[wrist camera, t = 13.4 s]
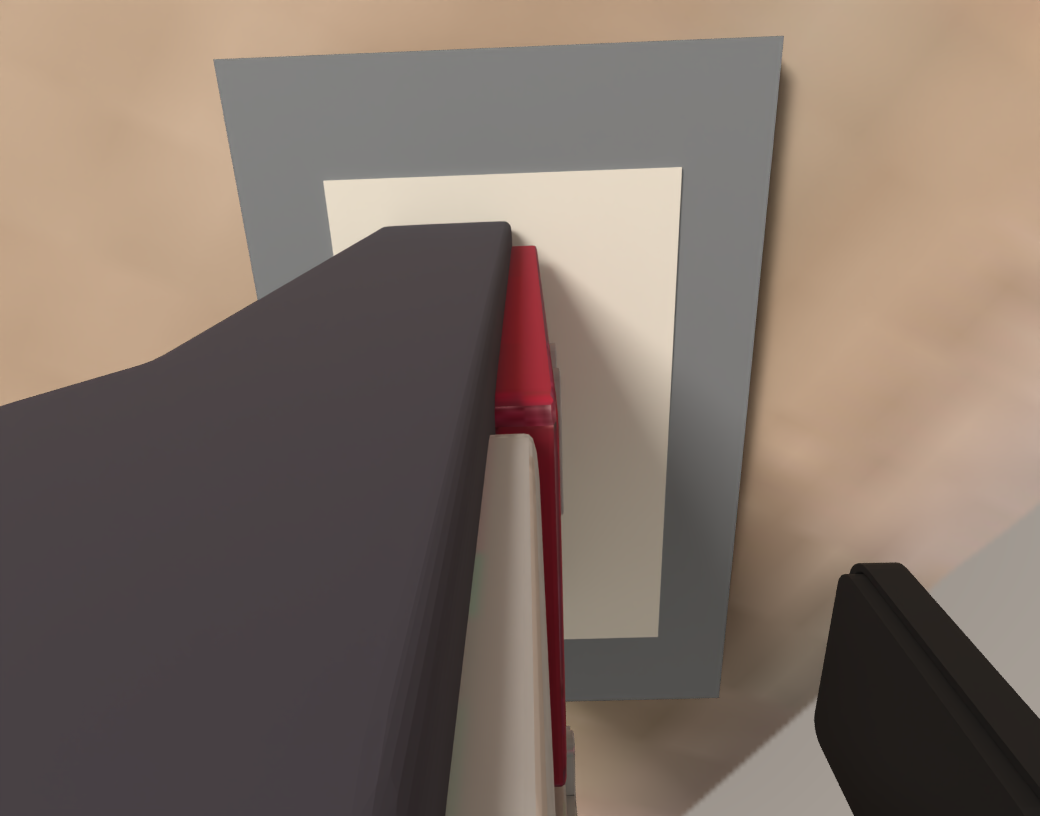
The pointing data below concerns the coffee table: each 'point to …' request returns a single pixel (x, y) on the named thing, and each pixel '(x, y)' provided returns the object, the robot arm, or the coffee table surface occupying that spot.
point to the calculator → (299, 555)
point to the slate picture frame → (567, 281)
